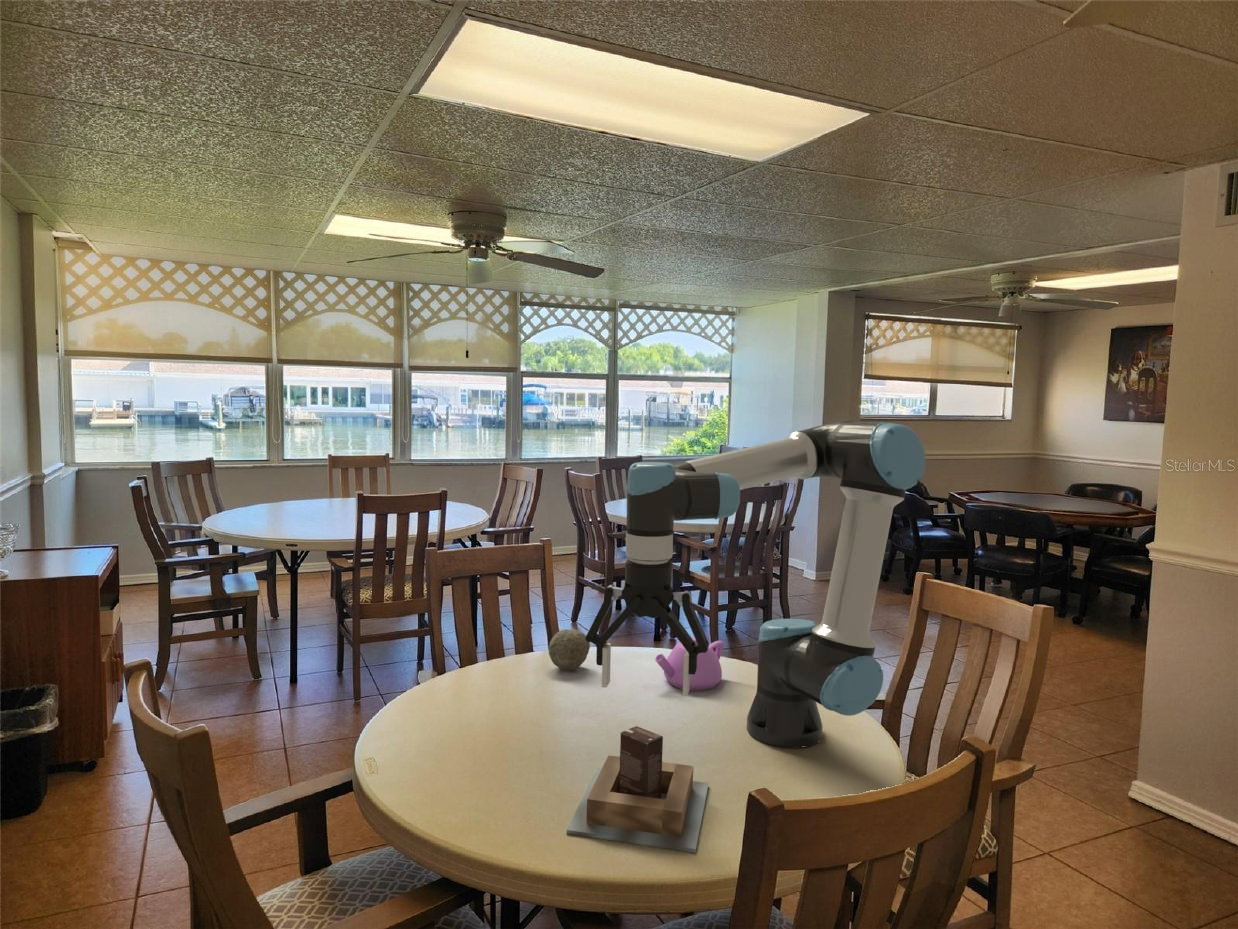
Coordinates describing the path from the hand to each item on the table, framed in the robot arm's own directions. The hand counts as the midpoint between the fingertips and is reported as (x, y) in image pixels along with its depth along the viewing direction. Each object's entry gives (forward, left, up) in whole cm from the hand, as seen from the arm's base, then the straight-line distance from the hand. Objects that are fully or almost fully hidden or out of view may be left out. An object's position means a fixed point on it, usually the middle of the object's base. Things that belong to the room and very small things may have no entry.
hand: (645, 688), depth 123 cm
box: (0, 0, -20) cm, 20 cm away
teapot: (-1, -58, -21) cm, 62 cm away
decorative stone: (+29, -58, -21) cm, 68 cm away
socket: (0, 0, -20) cm, 20 cm away
